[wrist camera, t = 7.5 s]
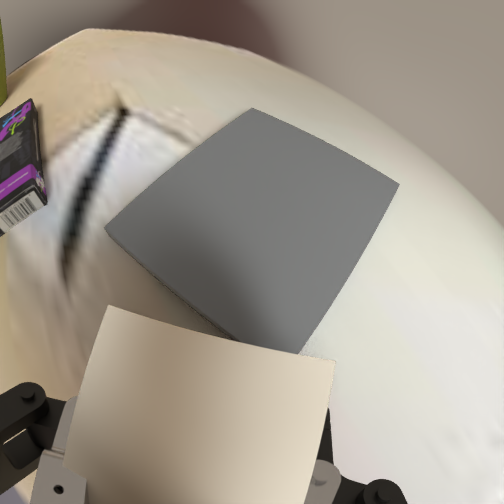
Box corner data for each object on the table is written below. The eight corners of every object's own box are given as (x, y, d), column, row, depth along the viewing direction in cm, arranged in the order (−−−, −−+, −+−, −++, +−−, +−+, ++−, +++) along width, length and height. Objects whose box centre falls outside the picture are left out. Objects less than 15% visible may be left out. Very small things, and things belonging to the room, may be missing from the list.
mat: (394, 192, 21) (399, 184, 20) (282, 374, 15) (284, 372, 14) (251, 116, 25) (252, 107, 24) (109, 235, 19) (104, 227, 18)
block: (279, 388, 14) (335, 361, 6) (257, 475, 12) (280, 569, 3) (186, 366, 15) (108, 304, 6) (163, 450, 12) (58, 496, 4)
